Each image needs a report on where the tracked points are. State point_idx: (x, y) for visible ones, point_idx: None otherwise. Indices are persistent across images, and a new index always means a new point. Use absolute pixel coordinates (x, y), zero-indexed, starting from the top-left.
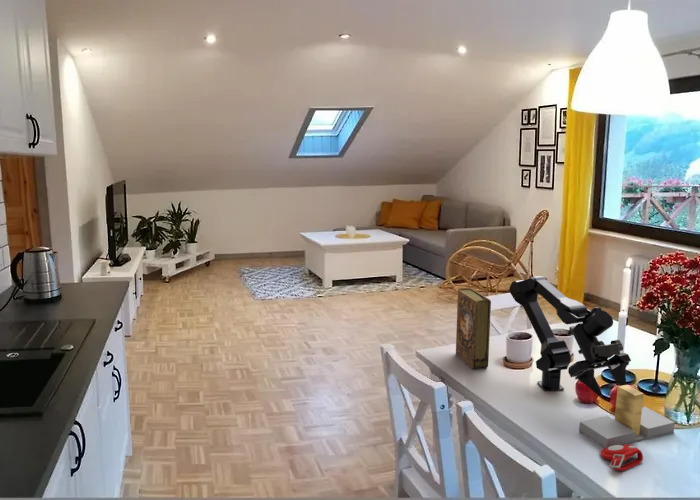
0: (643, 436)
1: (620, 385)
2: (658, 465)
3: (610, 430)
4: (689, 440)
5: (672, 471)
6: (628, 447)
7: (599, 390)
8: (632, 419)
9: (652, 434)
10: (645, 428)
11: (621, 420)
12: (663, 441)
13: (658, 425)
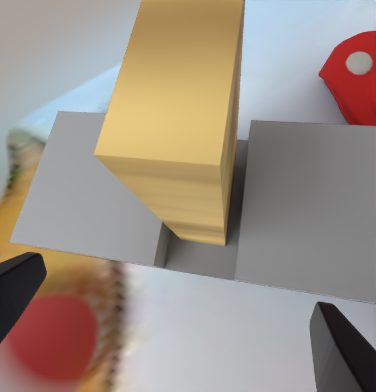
0: None
1: (7, 323)
2: (297, 39)
3: (346, 170)
4: (92, 89)
5: (287, 13)
6: (371, 67)
7: (352, 338)
8: (237, 124)
9: None
10: None
11: (229, 198)
12: None
13: None
